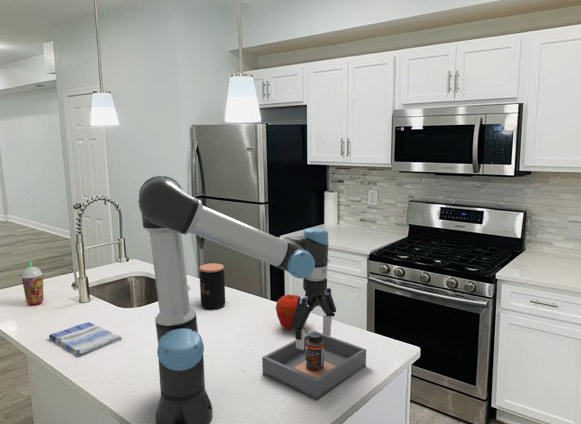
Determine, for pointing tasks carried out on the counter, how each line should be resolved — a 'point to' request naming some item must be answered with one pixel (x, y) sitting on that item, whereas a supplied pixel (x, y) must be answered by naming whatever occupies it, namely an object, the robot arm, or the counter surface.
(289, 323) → the apple
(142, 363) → the counter surface
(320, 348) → the supplement bottle
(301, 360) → the bin
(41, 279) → the smoothie
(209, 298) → the coffee jar
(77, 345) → the dish towel
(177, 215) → the robot arm
